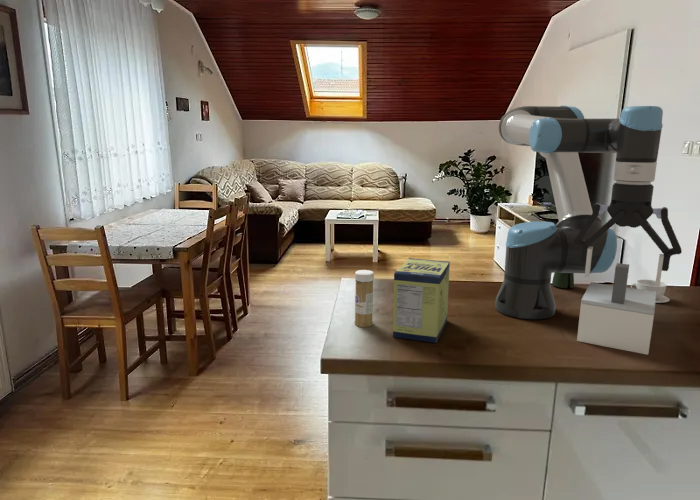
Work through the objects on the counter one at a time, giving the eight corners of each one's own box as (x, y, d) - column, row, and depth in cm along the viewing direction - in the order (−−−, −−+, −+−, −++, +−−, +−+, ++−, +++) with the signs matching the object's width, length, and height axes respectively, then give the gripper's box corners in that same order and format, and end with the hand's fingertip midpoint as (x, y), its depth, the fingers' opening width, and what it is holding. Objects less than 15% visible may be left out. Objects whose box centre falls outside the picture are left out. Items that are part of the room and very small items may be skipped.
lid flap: (590, 285, 125) (594, 251, 123) (655, 294, 117) (660, 258, 115) (581, 303, 111) (585, 264, 109) (653, 314, 104) (659, 273, 102)
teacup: (669, 296, 146) (671, 281, 145) (669, 306, 137) (672, 290, 136) (630, 291, 151) (632, 276, 150) (628, 300, 142) (630, 284, 141)
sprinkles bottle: (350, 324, 123) (350, 271, 120) (364, 319, 126) (364, 268, 123) (363, 329, 120) (364, 275, 117) (377, 324, 123) (377, 271, 120)
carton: (576, 340, 113) (580, 303, 111) (586, 319, 127) (590, 285, 125) (648, 354, 106) (653, 315, 104) (650, 330, 119) (655, 295, 117)
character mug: (552, 291, 150) (556, 249, 147) (540, 284, 157) (543, 244, 154) (585, 289, 152) (590, 247, 149) (571, 283, 158) (576, 243, 156)
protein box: (447, 320, 126) (450, 260, 122) (437, 344, 111) (440, 277, 108) (406, 315, 129) (408, 257, 126) (391, 338, 115) (393, 272, 111)
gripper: (566, 181, 108) (557, 276, 112) (706, 187, 95) (690, 293, 100) (571, 179, 114) (563, 269, 119) (704, 184, 101) (688, 284, 106)
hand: (621, 280), depth 109 cm, fingers open, 13 cm apart
